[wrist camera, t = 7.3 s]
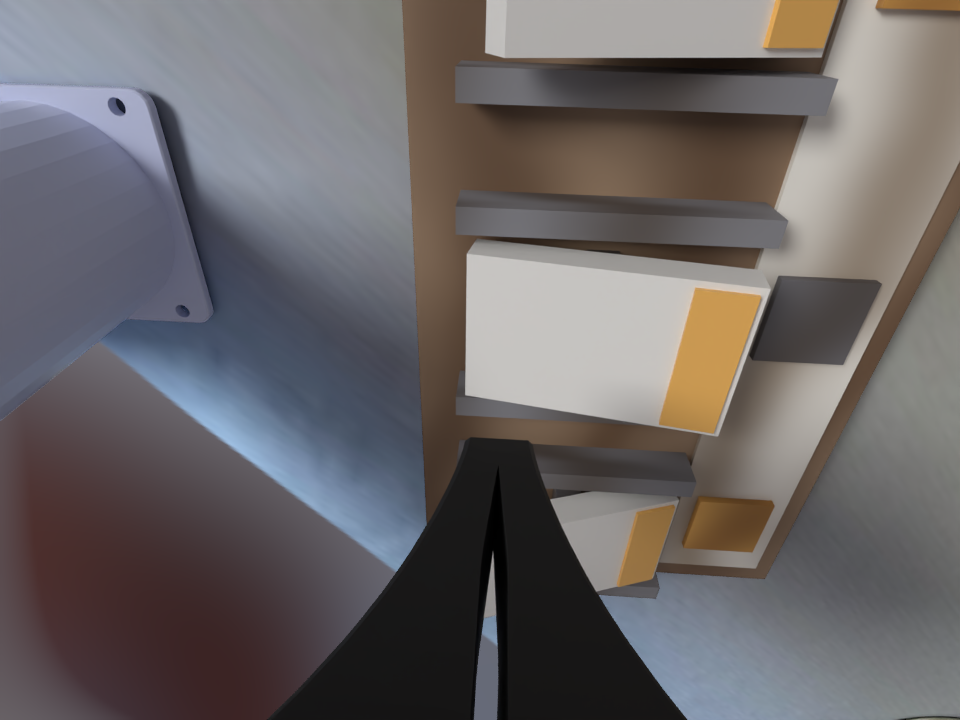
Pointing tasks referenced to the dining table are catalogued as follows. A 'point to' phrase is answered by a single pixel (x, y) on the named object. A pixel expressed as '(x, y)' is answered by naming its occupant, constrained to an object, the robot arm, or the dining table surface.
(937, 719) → the coffee can
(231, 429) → the dining table surface
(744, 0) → the rocker
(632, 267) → the rocker middle
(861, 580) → the dining table surface
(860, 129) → the switch board
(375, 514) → the dining table surface
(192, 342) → the dining table surface
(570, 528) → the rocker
